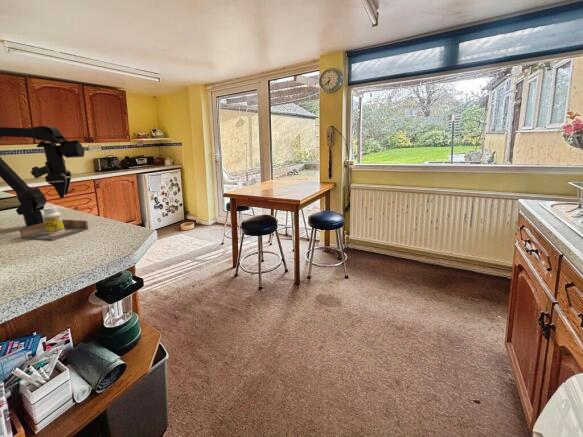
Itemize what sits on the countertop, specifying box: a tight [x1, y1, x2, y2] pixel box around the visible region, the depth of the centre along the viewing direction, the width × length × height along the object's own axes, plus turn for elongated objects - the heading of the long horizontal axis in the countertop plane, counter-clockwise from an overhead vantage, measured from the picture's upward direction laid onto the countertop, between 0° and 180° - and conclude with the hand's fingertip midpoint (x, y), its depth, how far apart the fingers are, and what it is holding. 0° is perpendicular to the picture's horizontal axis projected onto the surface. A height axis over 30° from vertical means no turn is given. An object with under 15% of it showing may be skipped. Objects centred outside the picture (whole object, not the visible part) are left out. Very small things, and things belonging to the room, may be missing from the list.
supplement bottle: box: [42, 206, 65, 234], centre depth 116 cm, size 5×5×10 cm
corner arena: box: [19, 218, 89, 242], centre depth 118 cm, size 16×14×4 cm
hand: (63, 196), depth 128 cm, fingers open, 9 cm apart
